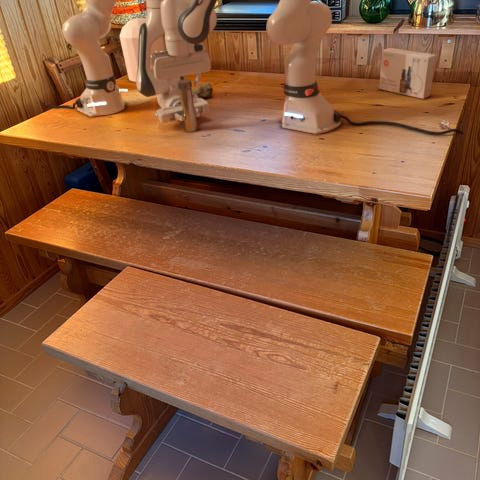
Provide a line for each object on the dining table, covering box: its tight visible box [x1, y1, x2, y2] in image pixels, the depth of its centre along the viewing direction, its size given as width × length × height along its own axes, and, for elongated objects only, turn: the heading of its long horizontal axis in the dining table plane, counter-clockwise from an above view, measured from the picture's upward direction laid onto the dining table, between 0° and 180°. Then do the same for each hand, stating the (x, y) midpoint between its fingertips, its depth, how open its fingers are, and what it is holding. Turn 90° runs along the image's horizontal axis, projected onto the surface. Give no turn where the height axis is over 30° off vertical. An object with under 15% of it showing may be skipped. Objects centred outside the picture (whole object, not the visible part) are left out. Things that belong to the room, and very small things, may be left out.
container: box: [119, 17, 165, 83], centre depth 235 cm, size 21×21×28 cm
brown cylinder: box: [179, 87, 199, 133], centre depth 170 cm, size 4×4×17 cm
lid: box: [177, 78, 193, 89], centre depth 165 cm, size 5×5×2 cm
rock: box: [192, 81, 214, 99], centre depth 206 cm, size 11×6×10 cm
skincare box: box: [378, 47, 437, 100], centre depth 184 cm, size 21×6×16 cm, turn 40°
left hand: (190, 116), depth 171 cm, fingers closed on brown cylinder, 4 cm apart
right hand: (185, 88), depth 166 cm, fingers open, 7 cm apart
